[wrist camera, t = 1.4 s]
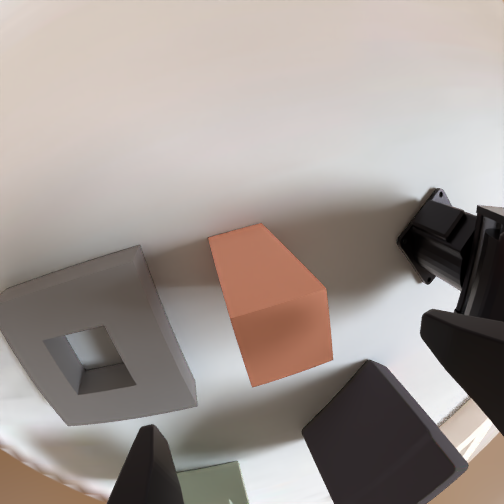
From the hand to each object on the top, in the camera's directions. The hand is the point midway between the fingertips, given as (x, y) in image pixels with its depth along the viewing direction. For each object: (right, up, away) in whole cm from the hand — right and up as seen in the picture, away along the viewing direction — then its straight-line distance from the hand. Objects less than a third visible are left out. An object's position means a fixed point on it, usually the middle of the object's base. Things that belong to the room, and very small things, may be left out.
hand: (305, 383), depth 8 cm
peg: (-2, +4, +12) cm, 13 cm away
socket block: (-13, -3, +12) cm, 18 cm away
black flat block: (+8, -12, +20) cm, 24 cm away
